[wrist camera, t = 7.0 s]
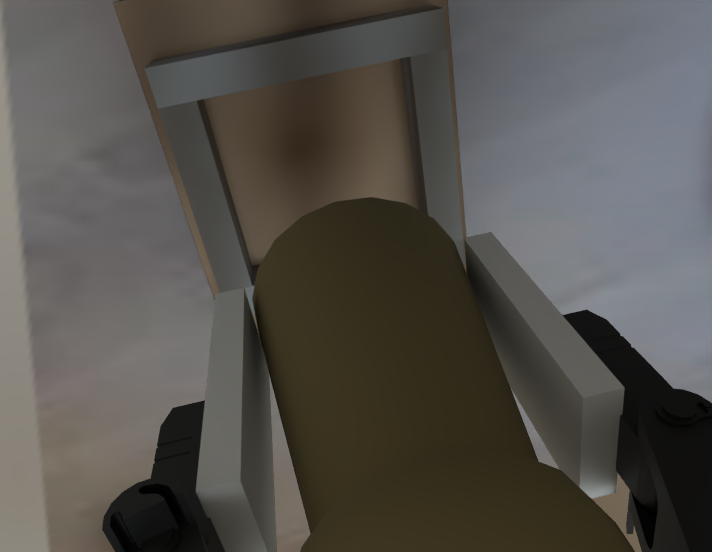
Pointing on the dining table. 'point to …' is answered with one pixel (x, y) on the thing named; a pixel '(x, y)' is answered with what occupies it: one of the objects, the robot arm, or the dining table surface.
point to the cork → (403, 396)
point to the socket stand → (296, 114)
